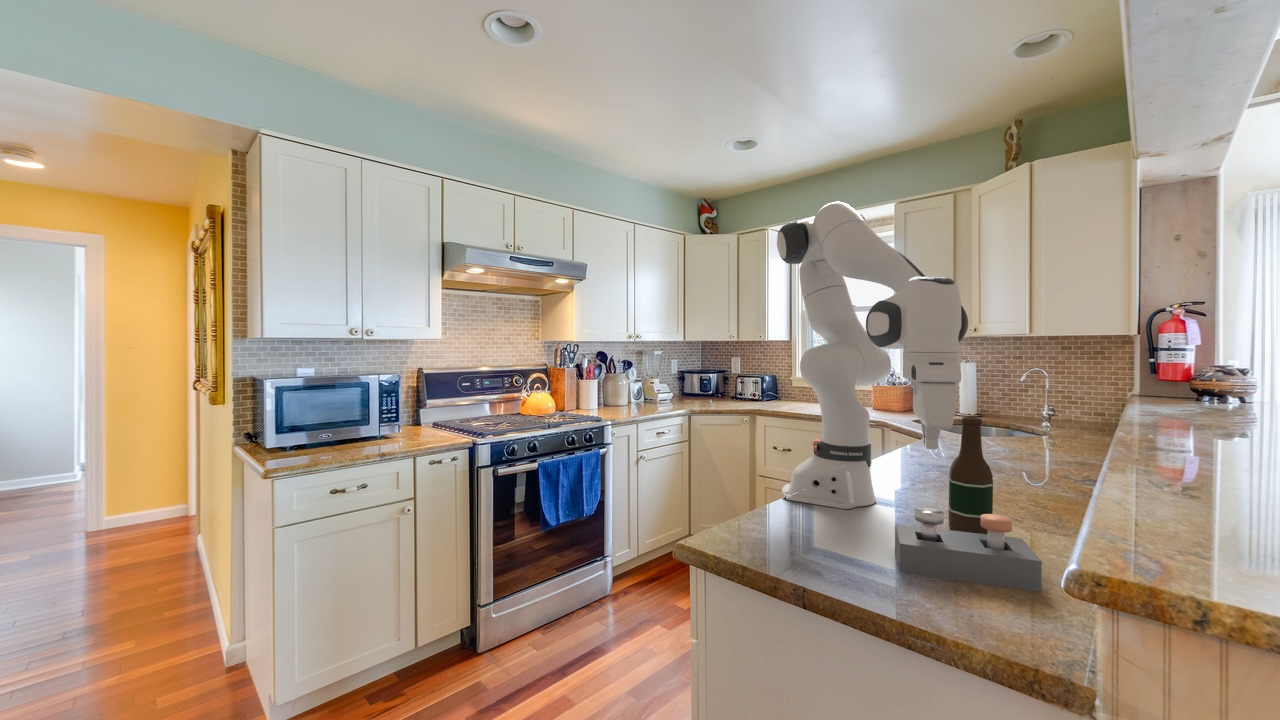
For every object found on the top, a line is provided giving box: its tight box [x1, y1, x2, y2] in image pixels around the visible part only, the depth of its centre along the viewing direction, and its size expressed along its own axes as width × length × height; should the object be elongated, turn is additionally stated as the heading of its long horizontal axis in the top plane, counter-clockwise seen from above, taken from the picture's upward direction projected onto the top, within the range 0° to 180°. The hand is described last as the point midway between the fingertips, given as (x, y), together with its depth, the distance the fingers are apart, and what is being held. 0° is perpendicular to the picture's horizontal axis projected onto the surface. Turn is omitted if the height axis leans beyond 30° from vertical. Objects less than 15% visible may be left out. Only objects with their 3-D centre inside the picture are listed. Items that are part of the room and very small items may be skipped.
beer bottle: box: [948, 415, 994, 534], centre depth 106 cm, size 8×8×24 cm
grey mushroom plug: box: [914, 506, 945, 542], centre depth 91 cm, size 4×4×6 cm
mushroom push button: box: [981, 513, 1013, 550], centre depth 88 cm, size 4×4×6 cm
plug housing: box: [894, 523, 1043, 593], centre depth 90 cm, size 20×10×5 cm, turn 68°
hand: (930, 447), depth 91 cm, fingers closed
